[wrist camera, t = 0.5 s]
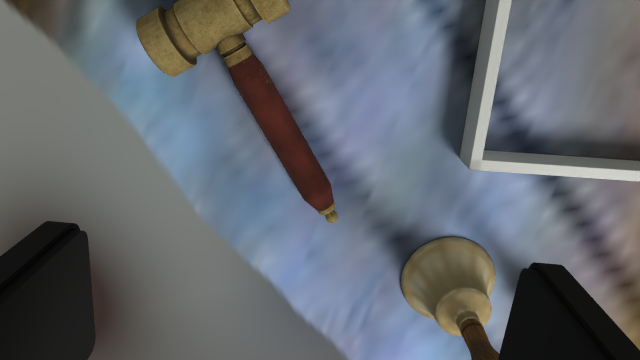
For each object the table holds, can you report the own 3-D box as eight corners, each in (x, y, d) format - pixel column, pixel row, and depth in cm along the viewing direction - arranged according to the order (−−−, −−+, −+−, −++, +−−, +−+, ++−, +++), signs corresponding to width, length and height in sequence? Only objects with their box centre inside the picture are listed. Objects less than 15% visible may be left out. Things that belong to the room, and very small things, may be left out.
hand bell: (503, 240, 43) (599, 368, 27) (485, 321, 45) (564, 478, 30) (407, 233, 42) (451, 358, 27) (395, 314, 45) (429, 469, 30)
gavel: (393, 208, 39) (281, 260, 40) (384, 184, 43) (284, 233, 44) (255, -55, 31) (125, 23, 33) (261, -52, 35) (146, 17, 37)
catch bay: (487, -11, 36) (501, -12, 33) (781, 10, 36) (820, 11, 33) (459, 158, 40) (469, 169, 37) (722, 176, 40) (752, 189, 37)
